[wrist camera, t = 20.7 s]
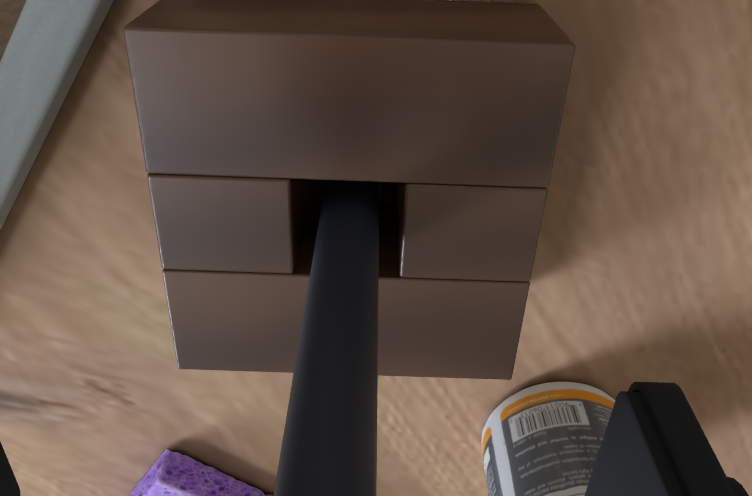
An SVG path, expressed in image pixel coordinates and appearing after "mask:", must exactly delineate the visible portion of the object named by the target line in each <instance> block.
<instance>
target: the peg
mask: <svg viewBox="0 0 752 496" xmlns="http://www.w3.org/2000/svg"><path fill="white" fill-rule="evenodd" d="M378 279H379V182H375V181H347V180H326V182H325V187H324V193H323V199H322V205H321V211H320V217H319V223H318V230H317V236H316V242H315V248H314V254H313V260H312V266H311V272H310V278H309V284H308V290H307V296H306V302H305V308H304V314H303V320H302V326H301V333H300V339H299V345H298V351H297V357H296V363H295V369H294V375H293V381H292V387H291V393H290V399H289V405H288V411H287V417H286V423H285V429H284V436H283V442H282V448H281V454H280V460H279V466H278V472H277V478H276V484H275V490H274V496H376V476H377V377H378Z"/></svg>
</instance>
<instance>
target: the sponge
mask: <svg viewBox="0 0 752 496" xmlns="http://www.w3.org/2000/svg"><path fill="white" fill-rule="evenodd" d="M130 496H273V495H270V494H268V495H265V494H264V493H263V492H262V491H261V490H259V489H257V488H255V487H251V486H249V485H247V484H246V483H244V482H242V481H237V480H236V479H235V478H233V477H230V476H228V475H226V474H224V473H222V472H220V471H218V470H216V469H215V468H212V467H209V466H205V465H203V464H202V463H201V462H198V461H195V460H194V459H193V458H190V457H188V456H186V455H182V454H180V453H178V452H171V451H169V450H168V449H166V450H165V451H164V452H163V453H162V455H161V456H160V457H159V458H158V459H157V461H156V462H155V463H154V464H153V465H152V467H151V469H150V470H149V471H148V472H147V473H146V475H145V476H144V477H143V478H142V479H141V480H140V481H139V483H138V484H137V486H136V488H134V489H133V491H132V492H131V494H130Z"/></svg>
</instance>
